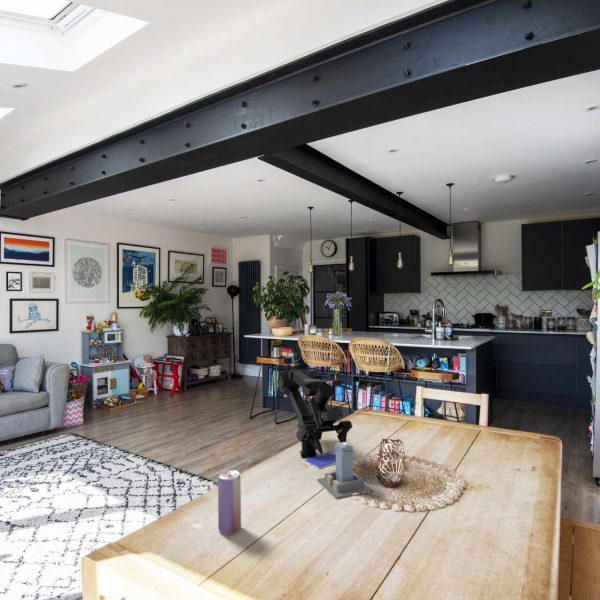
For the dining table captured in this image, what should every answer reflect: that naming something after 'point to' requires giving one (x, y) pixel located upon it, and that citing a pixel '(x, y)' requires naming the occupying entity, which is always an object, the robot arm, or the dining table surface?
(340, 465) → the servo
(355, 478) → the chassis
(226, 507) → the beverage can
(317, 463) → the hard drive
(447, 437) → the dining table surface
